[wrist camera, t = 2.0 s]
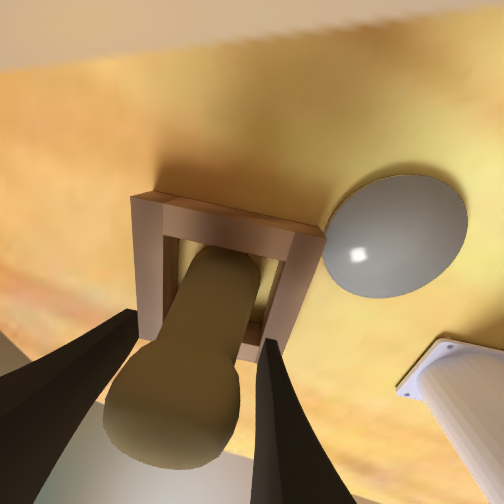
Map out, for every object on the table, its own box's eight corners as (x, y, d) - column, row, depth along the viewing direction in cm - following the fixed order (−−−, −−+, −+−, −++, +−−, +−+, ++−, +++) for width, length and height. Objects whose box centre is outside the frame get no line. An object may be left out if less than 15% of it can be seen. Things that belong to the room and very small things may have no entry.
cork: (189, 239, 15) (43, 383, 5) (266, 253, 15) (260, 424, 5) (187, 300, 18) (85, 475, 8) (253, 312, 18) (233, 503, 8)
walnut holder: (318, 226, 14) (327, 239, 12) (276, 343, 19) (277, 367, 17) (152, 190, 14) (130, 196, 12) (154, 317, 19) (139, 338, 17)
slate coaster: (491, 191, 12) (502, 193, 12) (413, 303, 16) (418, 308, 16) (350, 160, 12) (354, 160, 12) (305, 280, 16) (306, 284, 16)
